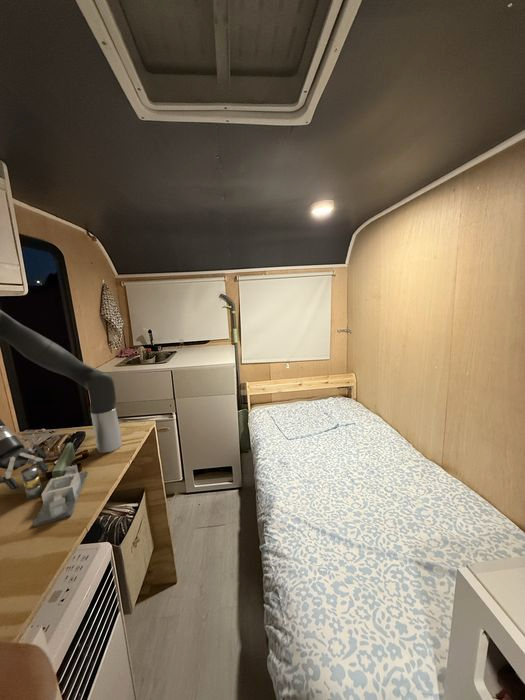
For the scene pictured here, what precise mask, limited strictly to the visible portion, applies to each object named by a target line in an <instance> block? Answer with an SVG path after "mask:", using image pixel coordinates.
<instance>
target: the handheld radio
mask: <svg viewBox="0 0 525 700" xmlns="http://www.w3.org/2000/svg"><path fill="white" fill-rule="evenodd" d="M74 448H75V447H74V444H73V442H68V443H67V444H66V445H65V447H64V449H63V450H62V452H61V454H60V456H59V458H58V460H57V462H56V463H55V465H54V466H53V469H52V471H51V477H52V479H53V478H57V477H61V476H64V473H63V470H64V468H65V467H68V466H70V464H71V463H72V461H73V459H74V457H75V458H76V452H77V448H76V449H75V450H74ZM75 451H76V452H75ZM74 460H75V459H74ZM73 462H74V461H73Z"/></svg>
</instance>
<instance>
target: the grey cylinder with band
mask: <svg viewBox="0 0 525 700" xmlns="http://www.w3.org/2000/svg"><path fill="white" fill-rule="evenodd" d="M37 466H38V465H31V466H28V467H26V468H24V469H22V470H21V471H20V475H21V477H22V478H21V479H22V481H23V482H22V483H23V487H24V490H25V494H26V498H27V499H29V500H30V499H31V500H32V499H34V498H37V497H39V496H41V494H42V493H43V491H44V490H43V488H42V483H41V480H40V475H39V471H38V469H39V468H38V467H37Z"/></svg>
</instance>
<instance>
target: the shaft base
mask: <svg viewBox="0 0 525 700" xmlns="http://www.w3.org/2000/svg"><path fill="white" fill-rule="evenodd" d="M63 473H64V476H61V477H57V478H53V477H52V478H50V480H49V481H48V482H47V484H46V487H45V488H44V490H42V491H43V492H42V493H41V494H40V496H41V497H42V498H41V500H42V503H43V504H42V507H40V510H39V511H38V513H37V515H36V517H35V518H34V520H33V523H32V526H33V527H34V528H35V527H38V526H41V525H45V524H49V523H52V522H56V521H59V520H64V519H67V518H71V517H72V514H73V512H74V510H75V507H76V504H77V502H78V499H79V498H80V494H81V492H82V489H83V487H84V485H85V481H86V479H87V477H88V474H89V473H88V470H87V471H82V472H81V471H80V472H79V470H78V464H72V466H68V467H65V468H64V470H63Z"/></svg>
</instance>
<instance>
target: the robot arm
mask: <svg viewBox="0 0 525 700" xmlns="http://www.w3.org/2000/svg"><path fill="white" fill-rule="evenodd" d="M0 339H3V340H4V341H6V343H8V344H9V345H11V347H13V349H15V350H16V351H17V352H19V353H20V354H21V355H22V356H23V357H24V358H26V359H28V360H29V361H31V362H33V363H34V364H37V365H38V366H40V367H42V368H43V369H46V370H48V371H51V372H53V373H55V374H56V373H57V374H59V375H62V376H65V377H67V378H69V379H71V380H72V381H74V382H76V383H77V384H79V385H80V386H82V387H83V388H84V389H86V390H87V391H88V395H89V396H88V397H89V402H90V406H89V411H90V416H91V420H92V421H91V422H92V428H93V434H94V439H95V444H96V450H97V452H98V453H100V454H101V453H102V454H106V453H111V452H114V451H116V450H117V449H119V448H120V447H122V444H123V443H122V442H123V440H122V433H121V428H120V422H119V419H118V418H119V417H118V412H117V406H116V401H117V396H116V390H115V389H116V388H115V382H114V380H113V378H112V376H111V375H109V374H108V373H106V372H104V371H102V370H99V369H96V368H94V367H92V366H90V365H89V364H86V363H84V362H83V361H81V360H79V359H78V358H77V357H75V355H73V353H71V352H69V351H68V350H66V349H65V348H63V347H62V346H61V345H59V344H58V343H56V342H54V341H53V340H51V339H49V338H47V337H46V336H44V335H41V334H40V333H38V332H36V331H34V330H33V329H31V328H29V327H27V326H25V325H23V324H21V323H20V322H19V321H17V320H16V319H14V318H12V317H11V316H10V315H9V314H7V313H5V312H4V311H3V310H1V309H0ZM33 454H34V455H33ZM47 456H48V454H47V453H46V452H45V451H44V450H43V449H42V448H41V447H40V446H39V445H38V444H34V445H33V446H32V447H30V448H26V447H25V445H24V444H23V443H22V442H21V440H20V439H19V438H18V437H17V436H16V434H15V433H14V432H13V431H12V430H11V429H10V428H9V427H8V426H7V425H6V424H5V423H4V422H3V420H2V419H1V418H0V469H4V470H5V472H4V475H3V476H2V475H1V474H0V484H6V486H7V488H9V489H10V490H12V491H17V490H18V489H19V488H20V485H19V483H17V481H16V480H15V478H14V477H11V476H12V473H13V471H16V470H18V469H19V468H22V467H24V466H25V465H33V466H37V469H39V471H40V472H41V473H42V474H43V475H45V474H47V473H48V471H49V470H48V469H49V466H47V465H48V464H46V463H45V462H44V461H45V460H46V458H47Z"/></svg>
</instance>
